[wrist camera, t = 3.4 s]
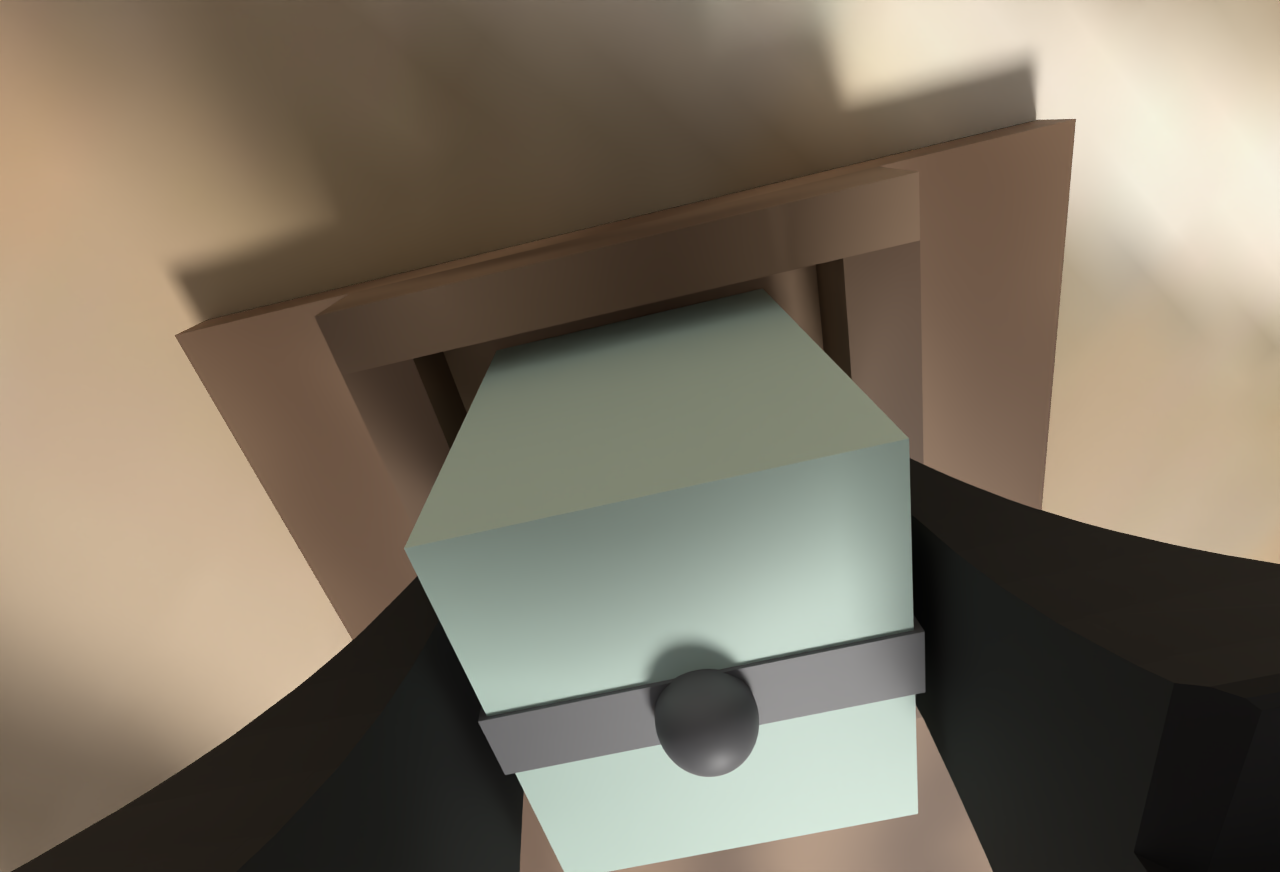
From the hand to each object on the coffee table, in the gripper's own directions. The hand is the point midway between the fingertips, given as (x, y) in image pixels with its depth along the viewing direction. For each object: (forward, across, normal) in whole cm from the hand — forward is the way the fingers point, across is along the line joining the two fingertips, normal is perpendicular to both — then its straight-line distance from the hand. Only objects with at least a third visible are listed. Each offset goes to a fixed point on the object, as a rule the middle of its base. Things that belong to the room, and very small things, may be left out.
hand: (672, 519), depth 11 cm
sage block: (+2, 0, 0) cm, 2 cm away
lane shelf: (+3, 0, +8) cm, 9 cm away
